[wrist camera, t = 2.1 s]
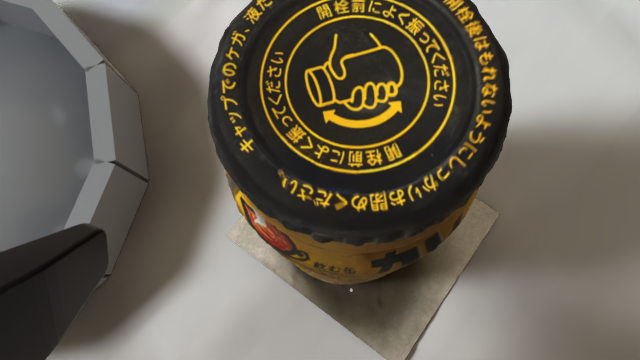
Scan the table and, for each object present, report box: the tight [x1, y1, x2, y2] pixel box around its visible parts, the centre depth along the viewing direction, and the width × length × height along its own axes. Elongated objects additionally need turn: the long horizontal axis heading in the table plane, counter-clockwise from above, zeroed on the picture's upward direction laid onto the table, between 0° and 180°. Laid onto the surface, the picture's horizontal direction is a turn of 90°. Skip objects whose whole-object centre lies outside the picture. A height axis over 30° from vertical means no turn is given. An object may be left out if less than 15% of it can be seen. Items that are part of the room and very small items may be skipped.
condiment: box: [207, 0, 512, 360], centre depth 13 cm, size 7×8×12 cm
